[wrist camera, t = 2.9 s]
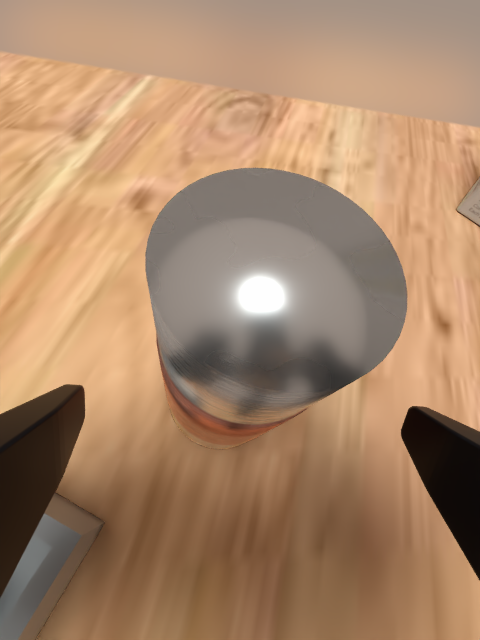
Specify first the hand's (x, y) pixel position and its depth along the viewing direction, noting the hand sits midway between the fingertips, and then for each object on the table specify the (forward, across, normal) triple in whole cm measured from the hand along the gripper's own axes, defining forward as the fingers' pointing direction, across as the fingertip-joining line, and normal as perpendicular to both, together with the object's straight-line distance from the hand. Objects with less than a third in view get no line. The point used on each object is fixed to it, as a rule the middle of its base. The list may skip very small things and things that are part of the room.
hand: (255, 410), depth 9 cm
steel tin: (+9, 0, +5) cm, 10 cm away
